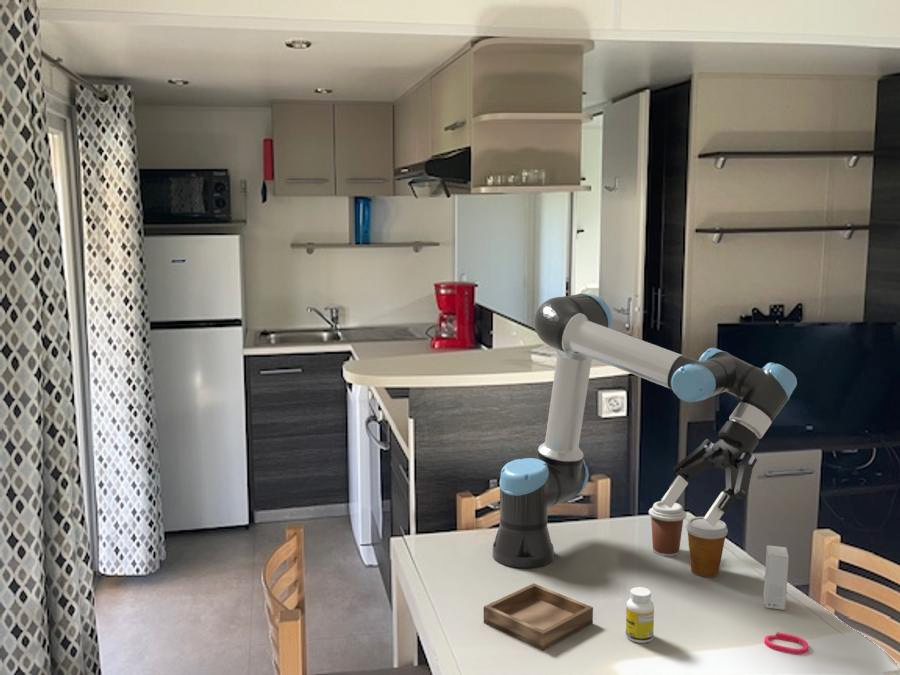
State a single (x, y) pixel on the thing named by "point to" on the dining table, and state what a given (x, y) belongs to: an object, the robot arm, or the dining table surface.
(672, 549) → the coffee cup
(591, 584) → the dining table surface
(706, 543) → the disposable coffee cup
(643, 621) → the supplement bottle
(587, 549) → the dining table surface
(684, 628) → the dining table surface
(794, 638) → the fitness band
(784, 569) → the skincare box
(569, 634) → the walnut tray
